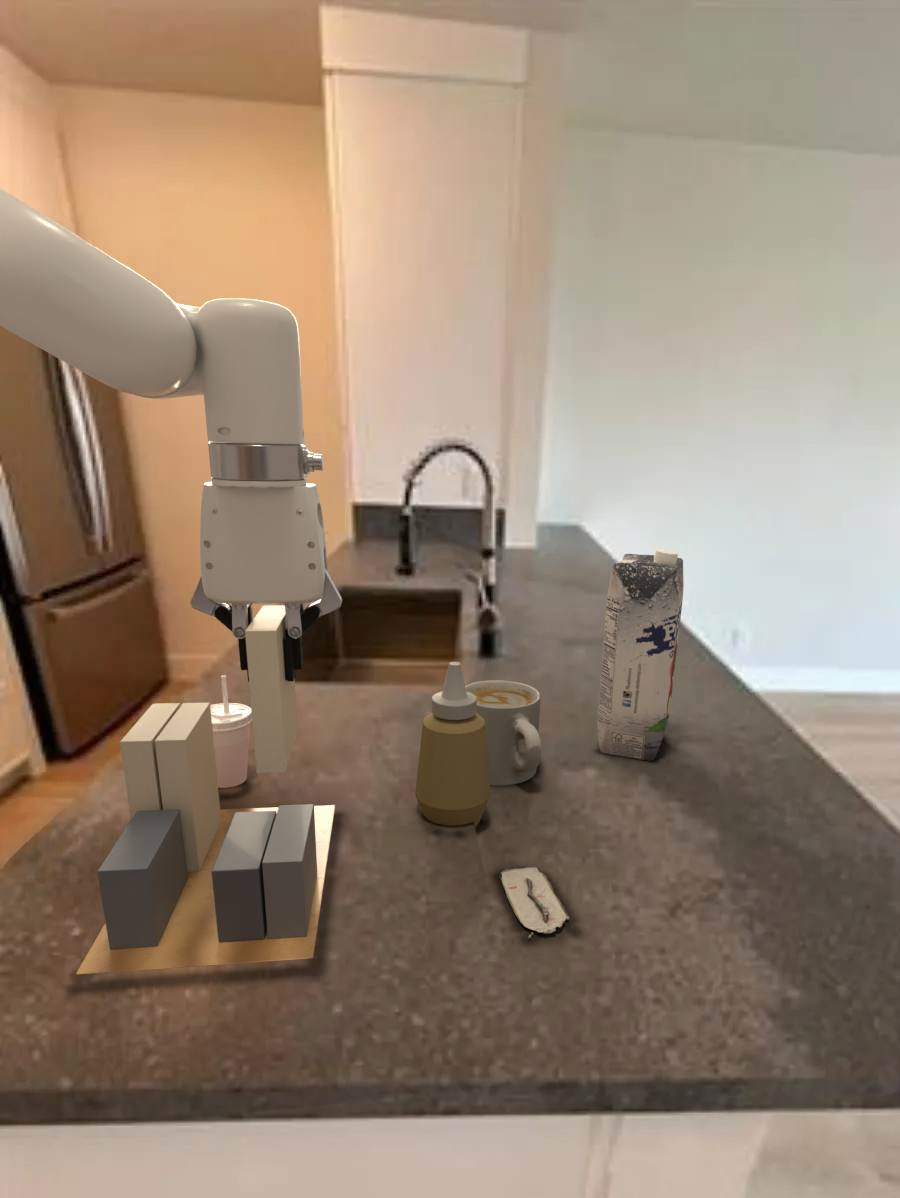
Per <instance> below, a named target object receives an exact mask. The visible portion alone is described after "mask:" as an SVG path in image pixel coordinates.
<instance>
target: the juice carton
mask: <svg viewBox="0 0 900 1198" xmlns="http://www.w3.org/2000/svg"><path fill="white" fill-rule="evenodd" d="M684 583H685V582H684V560H683V558H682V557H679V552H676V551H674V550H669V549H662V548H658V549H657V548H656V549H655V551H654V554H637V553H624V554H623V557H622V559H621V560H619V561H616V562H614V563H613V564H612V568H611V574H610V578H609V584H608V591H607V597H606V607H605V622H604V632H603V633H604V635H603V644H602V645H603V646H602V657H601V659H602V660H601V669H600V682H599V696H598V706H597V707H598V708H597V709H598V710H597V736H598V746H599V747H598V748H599V751H600V753H602V754H605V755H612V756H616V757H617V756H618V757H624V758H630V759H636V760H642V761H647V762H653V761H654V760H655V759H656V757H657V754H658V752H659V749H660V746H661V744H662V741H663V738H664V735H665V731H666V728H667V725H668V723H669V719H670V713H671V707H672V699H673V698H672V697H673V688H674V681H675V680H674V679H675V671H676V662H677V655H678V644H679V637H680V628H681V627H680V626H681V619H682V618H681V617H682V610H683V601H684V600H683V599H684Z"/></svg>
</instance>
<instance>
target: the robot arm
mask: <svg viewBox="0 0 900 1198" xmlns="http://www.w3.org/2000/svg"><path fill="white" fill-rule="evenodd" d="M0 327H1V328H3V329H5V330H7V331H8V332H10V333H12V334H14V335H15V336H17V337H19V338H21V339H23V340H25V341H27V342H29V343H30V344H32V345H34V346H36V347H37V348H39V349H41V350H43V351H44V352H47V353H48V354H50V355H52V356H54V357H55V358H56V359H58V360H60V361H62V362H63V363H66V364H67V365H69V366H71V367H73V368H75V369H77V370H78V371H80V372H82V374H85V375H87V376H88V377H91V378H92V379H94V380H96V381H98V382H100V383H102V384H104V385H105V386H107V387H109V388H111V389H114V390H116V391H119V392H122V393H126V394H130V395H134V396H137V397H141V398H145V399H151V400H152V399H155V400H160V399H161V400H164V399H175V398H183V397H194V396H203V400H204V412H205V413H204V414H205V422H206V423H205V424H206V435H207V442H208V444H207V445H208V456H209V468H210V477H211V479H210V480H211V481H208V482H204V484H203V487H202V494H201V507H200V527H199V528H200V530H199V531H200V532H199V534H200V535H199V541H200V542H199V557H200V558H199V559H200V575H201V576H200V578H199V580H198V583H197V584H196V587H195V590H194V592H193V595H192V597H191V599H190V606H191V608H192V609H194V610H196V611H199V612H201V613H203V614H206V615H207V616H210V617H214V618H216V620H218V621H219V622H220V623H221V624H222V625H223V626H225V628H227V629H228V630H229V631H230V632H232V635H233V637H234V638H236V639H237V641H238V652H239V654H238V655H239V666H240V670H241V671H246V673H247V683H249V674H248V661H247V649H246V637H245V630H246V629H247V628H248V626H249V625H250V623H251V622H252V621H253V619H254V618H253V604H254V605H255V604H259V605H260V604H261V605H262V604H264V605H265V604H266V605H267V604H268V605H270V604H271V605H273V604H283V605H284V606H285V612H286V620H287V629H286V631H285V633H286V635H285V637H284V639H283V653H284V668H285V680H287V681H294V679H295V680H296V676H297V673H298V670H303V669H304V648H303V647H304V646H303V645H304V644H303V634H304V633H305V632H306V631H307V629H309V628H310V627H311V625H313V624H314V623H315V622H316V621H317V620H318V619H319V618H321V617H322V616H325V615H327V614H330V613H332V612H334V611H336V610H339V609H340V608H341V607H342V604H343V598H342V596H341V594H340V592H339V590H338V588H337V586H336V585H335V582H334V581H333V579H332V577H331V575H330V573H329V569H328V568H329V567H328V554H327V542H326V533H325V526H324V524H325V523H324V517H323V511H322V505H321V501H320V496H319V491H318V488H317V485H316V483H309V482H307V478H308V475H310V474H311V473H314V472H315V471H324V456H323V453H314V452H313V451H309V449H307V446H306V445H304V444H305V432H304V431H305V430H304V429H305V427H304V412H303V411H304V409H303V408H304V407H303V393H302V392H303V391H302V369H301V350H300V348H301V347H300V333H299V325H298V321H297V319H296V316H295V315H294V313H293V312H292V311H291V310H290V309H289V308H288V307H286V306H283V305H282V304H279V303H276V302H272V301H267V300H260V299H252V298H242V297H240V298H239V297H226V298H223V297H222V298H215V299H212V300H208V301H206V302H204V303H203V305H201V306H194V305H187V304H183V303H182V304H181V303H177V302H175V301H174V300H173V299H172V298H171V297H170V296H169V295H168V294H167V293H166V292H165V291H163V290H162V289H161V288H160V287H158V286H157V285H156V284H154V283H153V282H151V280H149V279H146V278H145V277H144V276H142V275H141V274H139V273H137V271H135V270H133V269H131V268H130V267H128V266H127V265H125V264H123V263H121V262H120V261H118V260H117V259H115V258H113V257H112V256H110V255H109V254H108V253H106V252H104V251H103V250H101V249H99V248H98V247H96V246H94V245H93V244H91V243H90V242H88V241H87V240H85V239H83V238H82V237H81V236H79V235H77V234H75V233H74V232H72V231H71V230H69V229H67V228H66V227H64V226H62V225H61V224H60V223H58V222H56V221H55V220H53V219H51V218H50V217H49V216H46V215H45V214H43V213H42V212H40V211H39V210H37V209H35V208H33V207H31V206H30V205H28V204H27V203H25V202H24V201H22V200H20V199H19V198H16V197H15V196H13V195H12V194H10V193H8V192H7V191H5V190H4V189H2V188H0ZM307 603H309V604H308V605H307V606H306V607H304V604H307Z"/></svg>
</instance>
